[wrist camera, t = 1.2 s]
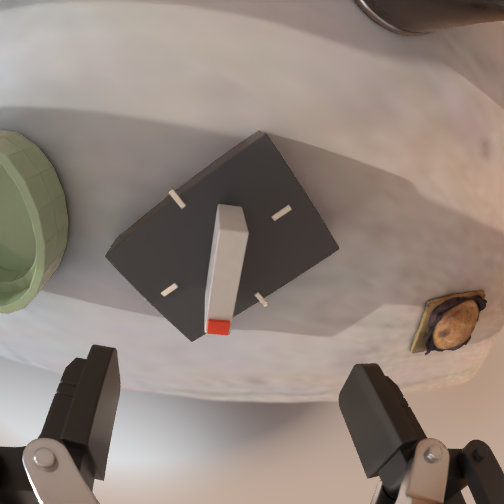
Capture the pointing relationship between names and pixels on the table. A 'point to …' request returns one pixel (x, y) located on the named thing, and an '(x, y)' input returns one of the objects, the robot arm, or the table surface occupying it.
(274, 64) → the table surface
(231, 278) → the red tipped lever
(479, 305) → the open sandwich
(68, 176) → the table surface
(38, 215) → the basin
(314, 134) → the table surface
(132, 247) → the rotary switch dial
